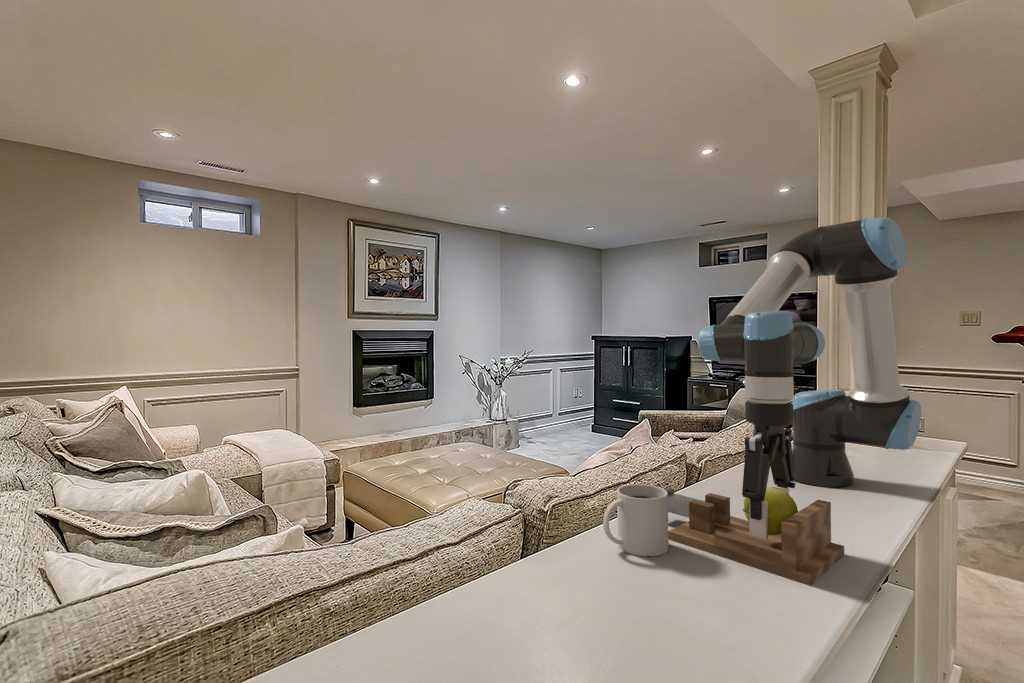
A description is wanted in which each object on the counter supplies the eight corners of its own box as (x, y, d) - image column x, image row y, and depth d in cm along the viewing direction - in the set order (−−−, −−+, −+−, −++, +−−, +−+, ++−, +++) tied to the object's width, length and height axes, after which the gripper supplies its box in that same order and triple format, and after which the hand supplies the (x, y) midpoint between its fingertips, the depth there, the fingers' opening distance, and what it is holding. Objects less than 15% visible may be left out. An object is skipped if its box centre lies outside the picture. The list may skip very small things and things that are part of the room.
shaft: (668, 508, 106) (668, 487, 106) (715, 521, 98) (715, 498, 98) (656, 513, 103) (656, 491, 103) (704, 527, 95) (703, 504, 95)
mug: (669, 539, 94) (668, 486, 94) (667, 561, 85) (666, 502, 85) (610, 533, 98) (609, 481, 98) (602, 553, 89) (601, 496, 89)
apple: (731, 528, 91) (730, 483, 91) (773, 523, 93) (773, 479, 93) (763, 545, 83) (762, 496, 83) (808, 539, 85) (808, 491, 85)
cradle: (710, 518, 105) (710, 477, 105) (844, 554, 87) (843, 505, 87) (668, 539, 94) (667, 493, 94) (809, 585, 76) (809, 529, 76)
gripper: (771, 393, 98) (772, 510, 98) (718, 404, 84) (719, 540, 84) (814, 396, 92) (815, 520, 92) (764, 408, 78) (766, 554, 79)
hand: (770, 530), depth 88 cm, fingers closed on apple, 8 cm apart
